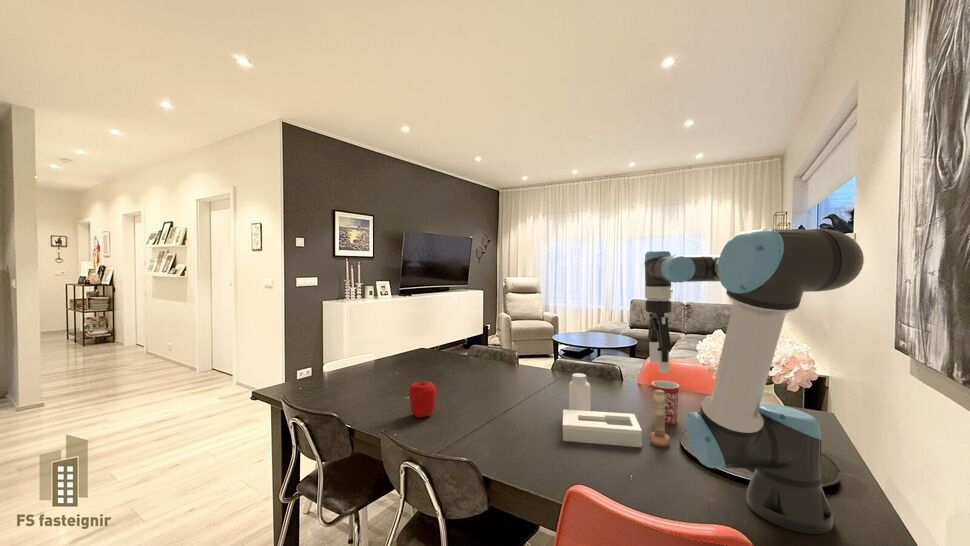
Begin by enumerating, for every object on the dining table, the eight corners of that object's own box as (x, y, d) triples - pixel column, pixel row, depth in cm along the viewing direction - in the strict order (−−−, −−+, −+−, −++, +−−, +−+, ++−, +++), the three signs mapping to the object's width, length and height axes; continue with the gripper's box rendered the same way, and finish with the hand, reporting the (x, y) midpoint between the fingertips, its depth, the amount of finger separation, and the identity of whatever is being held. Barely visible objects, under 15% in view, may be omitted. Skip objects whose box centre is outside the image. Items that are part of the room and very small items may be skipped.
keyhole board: (641, 447, 117) (641, 430, 117) (562, 440, 123) (562, 424, 123) (634, 429, 131) (634, 414, 131) (563, 423, 136) (563, 409, 136)
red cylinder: (428, 422, 139) (428, 385, 139) (404, 419, 142) (403, 383, 142) (440, 412, 149) (440, 377, 149) (417, 409, 152) (417, 375, 152)
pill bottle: (566, 415, 144) (566, 376, 144) (572, 408, 151) (571, 371, 151) (587, 419, 140) (587, 378, 140) (592, 412, 147) (592, 373, 147)
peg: (671, 448, 117) (671, 394, 117) (652, 446, 118) (651, 393, 118) (667, 440, 122) (666, 389, 122) (648, 438, 123) (647, 388, 123)
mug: (677, 428, 131) (676, 389, 131) (649, 422, 137) (649, 385, 137) (683, 417, 141) (683, 380, 141) (657, 411, 147) (657, 377, 147)
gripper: (682, 303, 107) (683, 378, 107) (661, 297, 131) (662, 358, 131) (653, 302, 109) (654, 376, 109) (638, 297, 133) (639, 357, 133)
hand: (658, 366), depth 120 cm, fingers open, 13 cm apart
